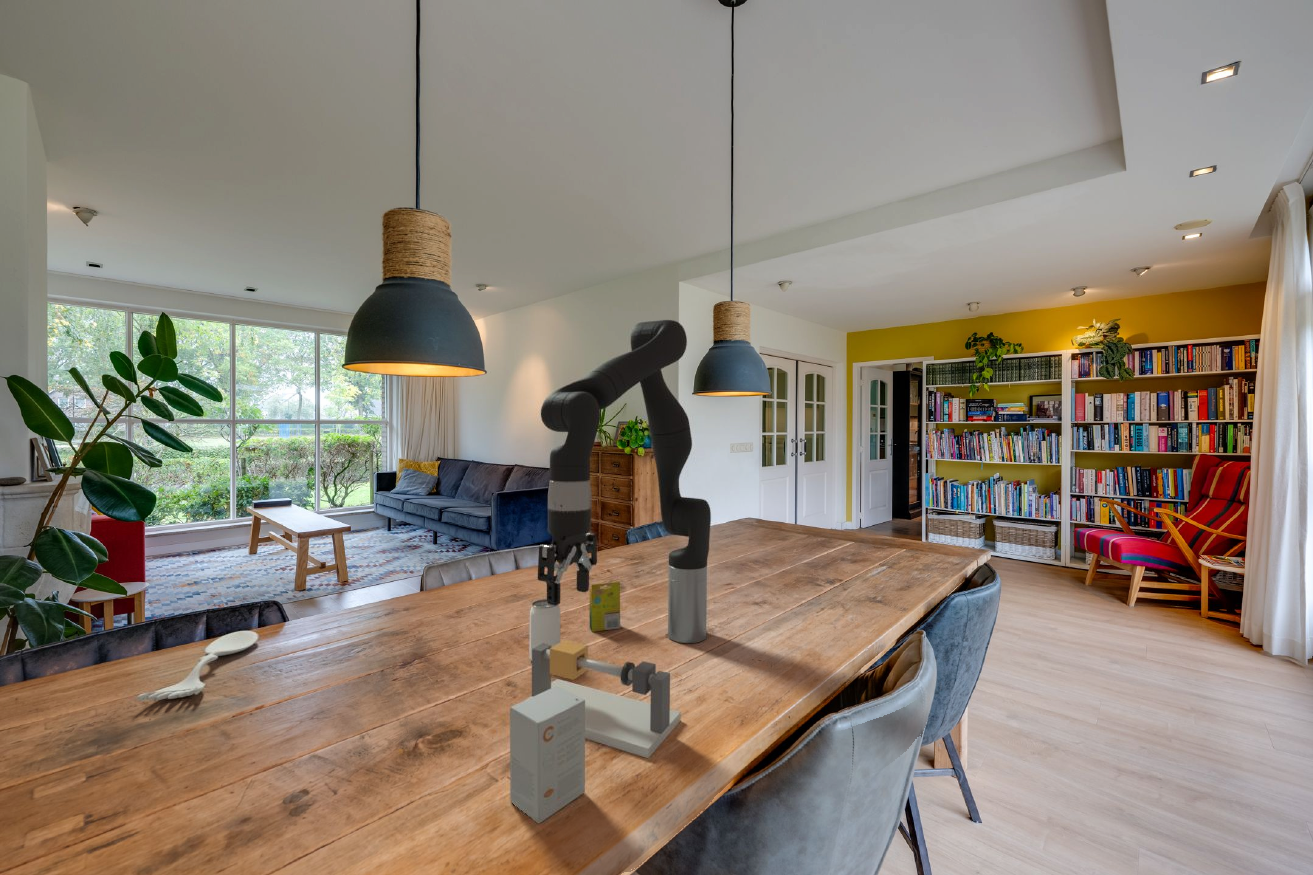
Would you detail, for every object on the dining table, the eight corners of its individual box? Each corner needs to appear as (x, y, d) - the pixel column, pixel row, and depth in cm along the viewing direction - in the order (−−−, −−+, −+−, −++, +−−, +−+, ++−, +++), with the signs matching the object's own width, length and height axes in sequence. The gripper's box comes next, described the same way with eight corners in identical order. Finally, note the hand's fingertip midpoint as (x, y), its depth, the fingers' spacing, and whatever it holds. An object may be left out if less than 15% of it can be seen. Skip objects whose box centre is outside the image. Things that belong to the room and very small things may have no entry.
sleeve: (564, 663, 99) (564, 639, 99) (587, 669, 97) (587, 645, 97) (549, 673, 95) (549, 648, 95) (573, 679, 93) (573, 654, 93)
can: (553, 666, 114) (553, 609, 113) (524, 663, 115) (524, 606, 115) (564, 653, 120) (565, 599, 120) (537, 651, 121) (537, 597, 121)
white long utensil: (134, 715, 94) (134, 695, 94) (218, 643, 124) (218, 628, 124) (197, 707, 96) (197, 688, 96) (265, 639, 127) (265, 624, 127)
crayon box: (617, 624, 138) (618, 578, 138) (620, 628, 135) (621, 582, 135) (588, 627, 136) (589, 581, 135) (591, 632, 133) (591, 584, 133)
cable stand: (557, 686, 105) (557, 630, 105) (680, 720, 93) (681, 657, 93) (514, 715, 94) (515, 653, 94) (648, 758, 83) (649, 687, 82)
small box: (556, 773, 79) (556, 684, 78) (586, 793, 75) (586, 698, 74) (508, 802, 73) (508, 705, 72) (538, 825, 68) (538, 723, 68)
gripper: (562, 513, 88) (561, 613, 88) (609, 502, 100) (608, 590, 101) (525, 509, 91) (525, 605, 91) (575, 499, 104) (574, 584, 104)
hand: (568, 597), depth 96 cm, fingers open, 8 cm apart
